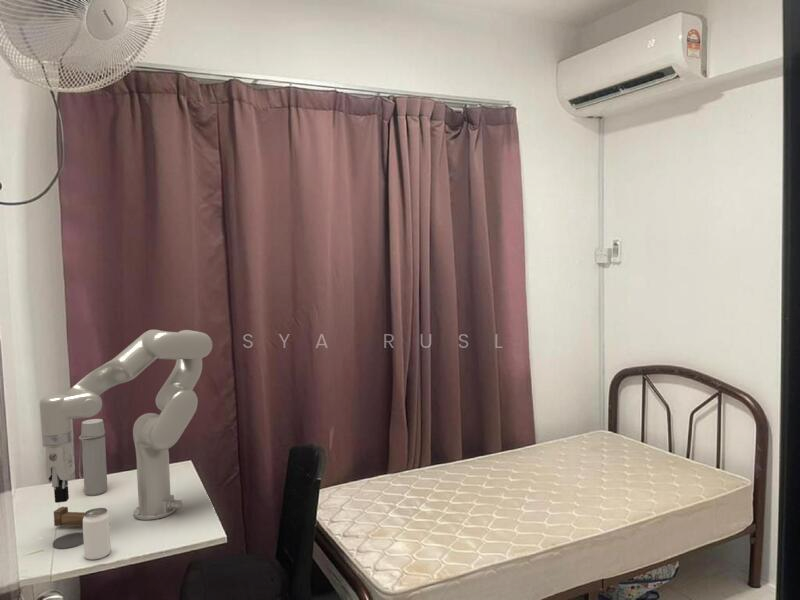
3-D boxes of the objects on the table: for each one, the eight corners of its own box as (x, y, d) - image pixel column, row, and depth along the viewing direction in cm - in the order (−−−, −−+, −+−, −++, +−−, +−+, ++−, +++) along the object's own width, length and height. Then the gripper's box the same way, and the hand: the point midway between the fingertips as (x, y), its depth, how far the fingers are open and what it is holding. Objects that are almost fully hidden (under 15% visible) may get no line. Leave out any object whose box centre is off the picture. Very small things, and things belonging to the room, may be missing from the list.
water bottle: (112, 487, 215) (108, 418, 213) (100, 496, 207) (97, 424, 205) (86, 488, 215) (82, 418, 213) (74, 496, 207) (70, 424, 205)
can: (81, 554, 166) (78, 512, 165) (106, 546, 170) (104, 505, 169) (89, 563, 161) (86, 519, 160) (114, 554, 166) (112, 511, 165)
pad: (94, 534, 178) (94, 533, 178) (75, 549, 169) (75, 547, 169) (65, 534, 179) (65, 532, 179) (45, 548, 170) (45, 546, 170)
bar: (88, 527, 181) (88, 512, 180) (54, 525, 182) (53, 511, 182) (96, 521, 184) (95, 507, 184) (62, 520, 186) (61, 506, 185)
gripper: (63, 445, 167) (68, 510, 168) (79, 430, 181) (83, 489, 183) (33, 447, 165) (38, 513, 166) (51, 432, 179) (55, 492, 181)
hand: (62, 500), depth 174 cm, fingers closed
